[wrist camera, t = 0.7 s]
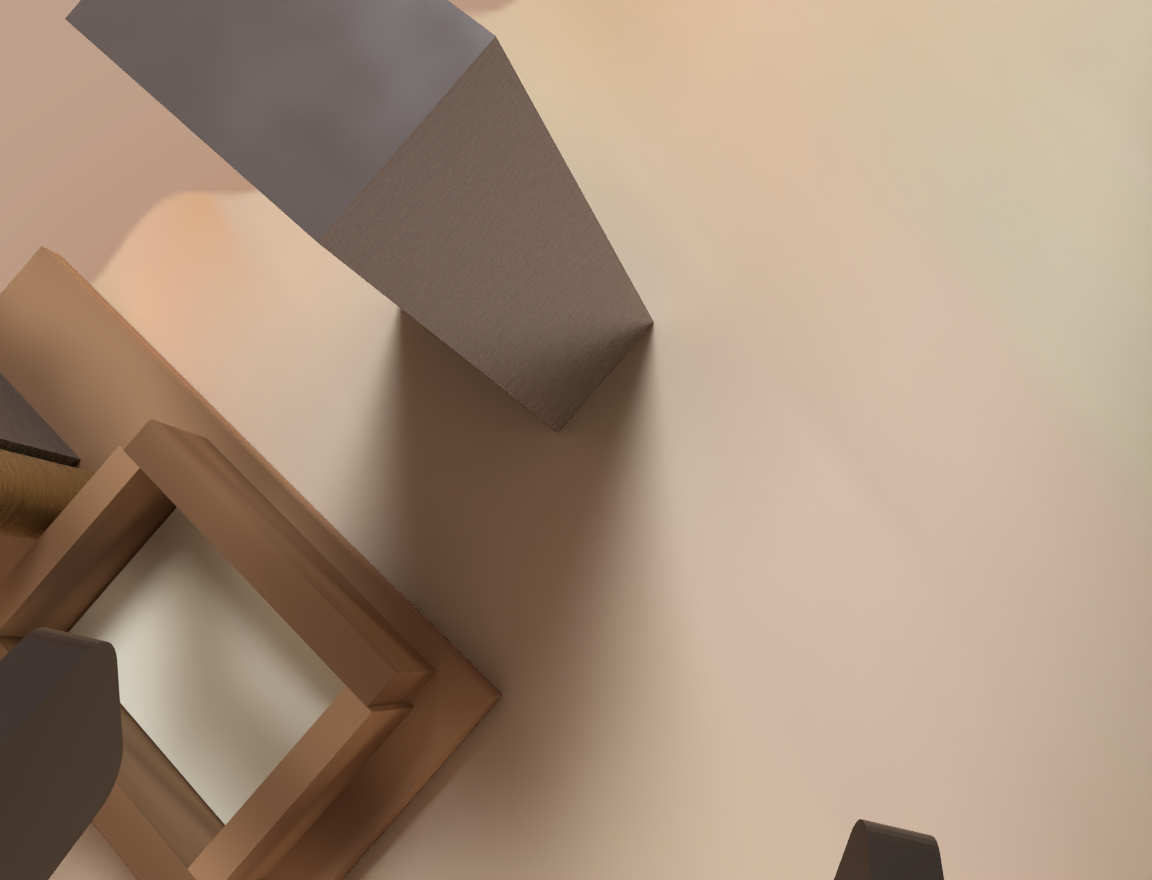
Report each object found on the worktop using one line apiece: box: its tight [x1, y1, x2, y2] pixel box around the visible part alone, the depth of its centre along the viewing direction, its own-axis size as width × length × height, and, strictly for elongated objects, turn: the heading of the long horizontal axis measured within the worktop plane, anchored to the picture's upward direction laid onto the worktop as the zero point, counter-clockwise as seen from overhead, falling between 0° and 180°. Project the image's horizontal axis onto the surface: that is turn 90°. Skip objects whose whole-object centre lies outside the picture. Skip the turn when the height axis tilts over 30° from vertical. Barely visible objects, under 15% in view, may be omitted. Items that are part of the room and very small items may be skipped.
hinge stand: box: [0, 246, 502, 880], centre depth 33 cm, size 10×22×4 cm, turn 48°
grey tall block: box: [66, 0, 653, 432], centre depth 26 cm, size 4×7×16 cm, turn 48°
